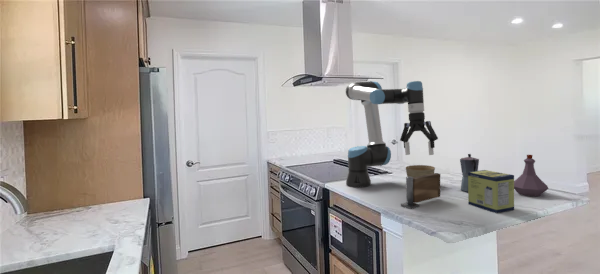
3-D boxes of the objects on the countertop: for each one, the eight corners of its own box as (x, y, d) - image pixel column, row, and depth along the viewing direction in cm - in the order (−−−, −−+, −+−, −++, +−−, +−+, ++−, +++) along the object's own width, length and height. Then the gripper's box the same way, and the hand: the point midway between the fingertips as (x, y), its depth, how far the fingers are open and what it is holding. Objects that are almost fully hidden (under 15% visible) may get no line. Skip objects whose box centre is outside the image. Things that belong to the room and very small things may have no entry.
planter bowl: (403, 182, 203) (403, 165, 202) (431, 182, 201) (430, 164, 200) (408, 189, 187) (408, 170, 186) (438, 188, 185) (438, 169, 184)
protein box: (484, 201, 158) (484, 169, 157) (514, 210, 143) (515, 175, 142) (467, 204, 154) (467, 171, 153) (496, 213, 140) (496, 177, 139)
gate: (410, 201, 157) (410, 177, 156) (436, 195, 166) (435, 173, 165) (415, 203, 155) (414, 178, 154) (440, 196, 163) (440, 173, 162)
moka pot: (473, 187, 184) (473, 152, 183) (486, 194, 169) (486, 156, 167) (455, 187, 185) (455, 152, 184) (467, 194, 170) (467, 156, 168)
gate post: (400, 206, 156) (400, 176, 155) (409, 203, 159) (409, 175, 158) (410, 209, 151) (410, 179, 150) (419, 206, 154) (419, 177, 153)
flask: (517, 188, 178) (518, 152, 176) (554, 194, 165) (555, 154, 163) (504, 194, 168) (504, 155, 167) (542, 200, 155) (542, 158, 154)
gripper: (391, 114, 173) (394, 155, 173) (434, 109, 152) (437, 155, 152) (400, 114, 177) (403, 154, 177) (443, 109, 156) (446, 154, 156)
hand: (419, 154), depth 165 cm, fingers open, 13 cm apart
